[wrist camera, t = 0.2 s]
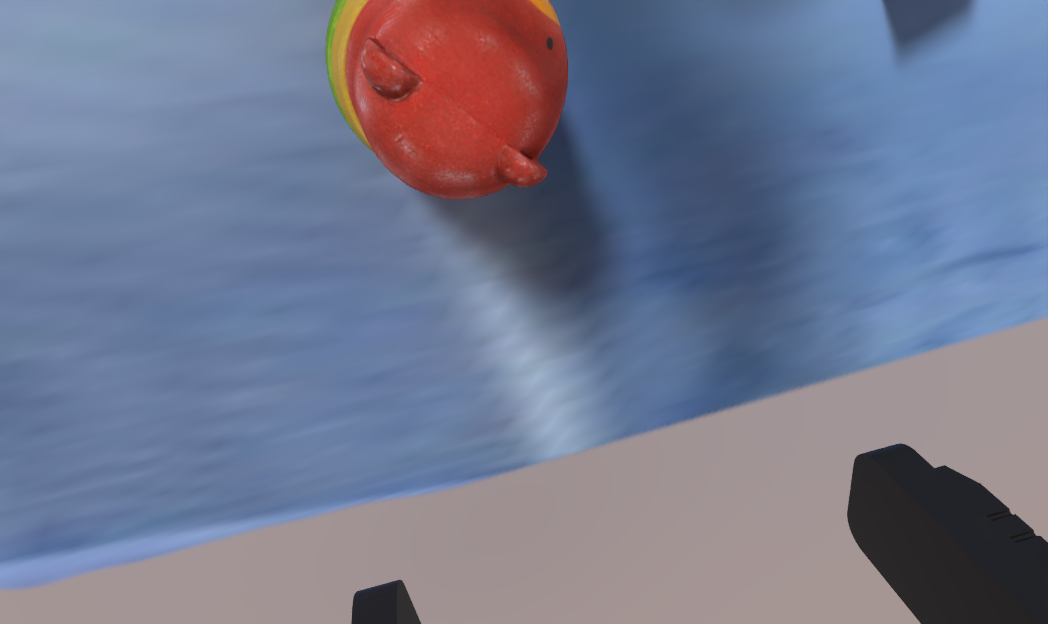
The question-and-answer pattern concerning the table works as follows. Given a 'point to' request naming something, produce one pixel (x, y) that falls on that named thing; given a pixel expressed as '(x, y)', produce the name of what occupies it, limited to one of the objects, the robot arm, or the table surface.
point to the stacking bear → (450, 88)
